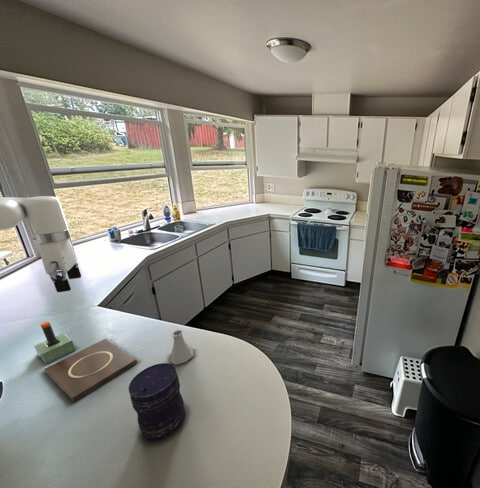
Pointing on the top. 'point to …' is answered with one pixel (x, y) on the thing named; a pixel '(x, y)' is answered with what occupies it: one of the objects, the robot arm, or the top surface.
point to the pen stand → (54, 348)
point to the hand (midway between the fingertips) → (70, 284)
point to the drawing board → (89, 368)
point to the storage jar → (157, 401)
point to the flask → (180, 349)
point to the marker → (49, 333)
